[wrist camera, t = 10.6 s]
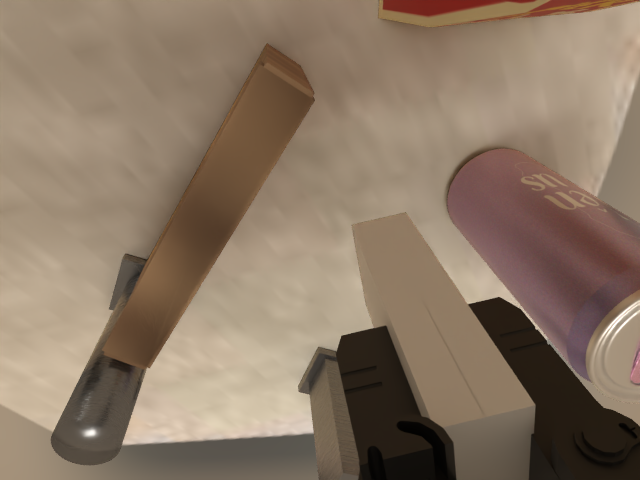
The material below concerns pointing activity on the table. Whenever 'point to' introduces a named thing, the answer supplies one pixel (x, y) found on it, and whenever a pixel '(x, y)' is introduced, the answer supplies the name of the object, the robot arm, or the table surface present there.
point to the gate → (212, 205)
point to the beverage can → (558, 261)
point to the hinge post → (102, 391)
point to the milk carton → (483, 10)
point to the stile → (330, 418)
